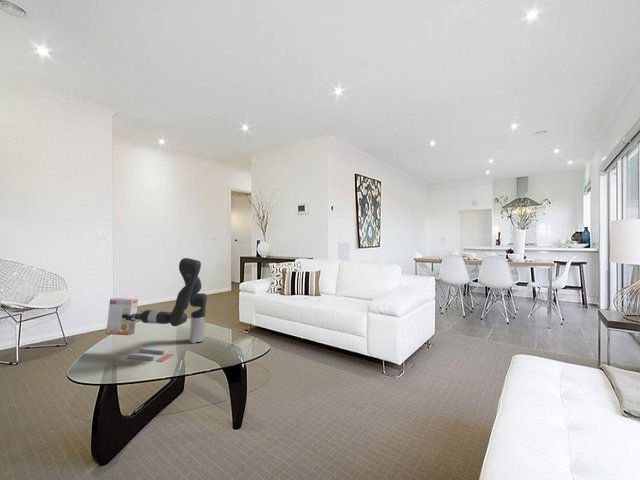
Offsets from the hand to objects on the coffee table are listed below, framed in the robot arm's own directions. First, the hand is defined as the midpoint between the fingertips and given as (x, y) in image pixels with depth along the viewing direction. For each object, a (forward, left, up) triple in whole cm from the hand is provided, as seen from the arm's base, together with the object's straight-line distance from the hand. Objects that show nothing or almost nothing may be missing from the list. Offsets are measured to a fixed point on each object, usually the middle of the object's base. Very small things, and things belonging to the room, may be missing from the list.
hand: (126, 314), depth 180 cm
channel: (0, +14, -23) cm, 27 cm away
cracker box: (+1, -2, -12) cm, 12 cm away
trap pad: (0, +26, -23) cm, 35 cm away
